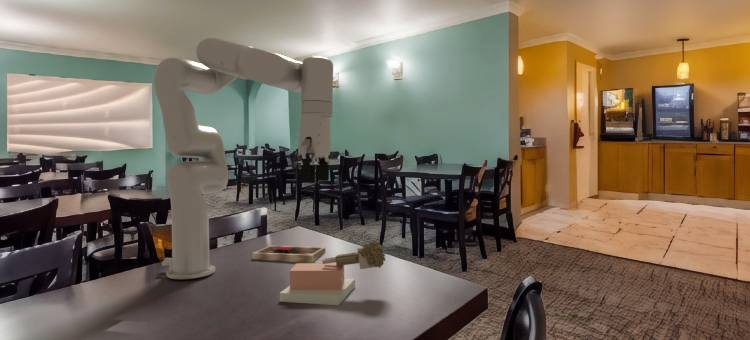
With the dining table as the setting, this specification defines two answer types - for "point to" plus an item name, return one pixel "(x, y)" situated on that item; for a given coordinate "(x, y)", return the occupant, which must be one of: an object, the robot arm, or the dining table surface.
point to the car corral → (304, 258)
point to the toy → (361, 256)
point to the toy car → (287, 251)
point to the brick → (316, 276)
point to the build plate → (318, 294)
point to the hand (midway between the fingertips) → (315, 181)
